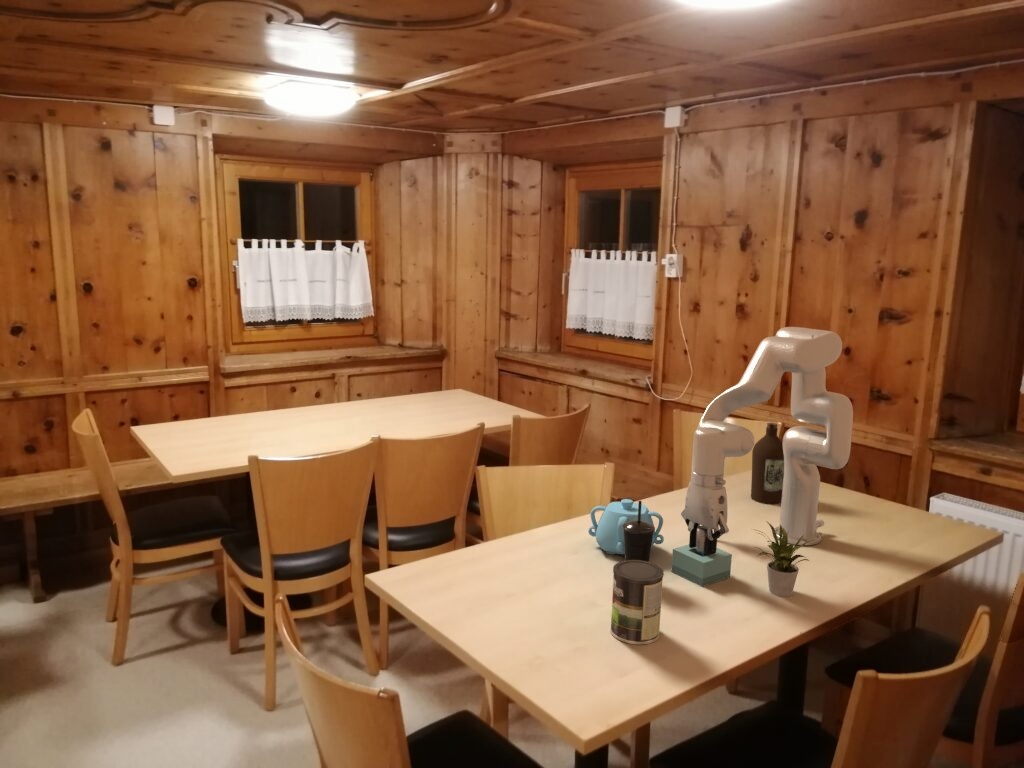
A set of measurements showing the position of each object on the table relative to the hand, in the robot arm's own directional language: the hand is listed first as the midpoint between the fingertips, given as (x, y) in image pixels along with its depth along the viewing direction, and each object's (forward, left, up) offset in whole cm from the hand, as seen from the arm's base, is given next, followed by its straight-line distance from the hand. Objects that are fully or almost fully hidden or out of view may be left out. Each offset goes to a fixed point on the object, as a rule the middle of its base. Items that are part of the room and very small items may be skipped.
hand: (702, 549), depth 192 cm
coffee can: (+34, +13, -7) cm, 37 cm away
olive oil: (-62, -29, -7) cm, 69 cm away
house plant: (-8, +15, -7) cm, 19 cm away
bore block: (0, 0, -6) cm, 6 cm away
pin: (0, 0, -4) cm, 4 cm away
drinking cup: (+16, -6, -7) cm, 18 cm away
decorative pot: (+5, -22, -7) cm, 24 cm away
